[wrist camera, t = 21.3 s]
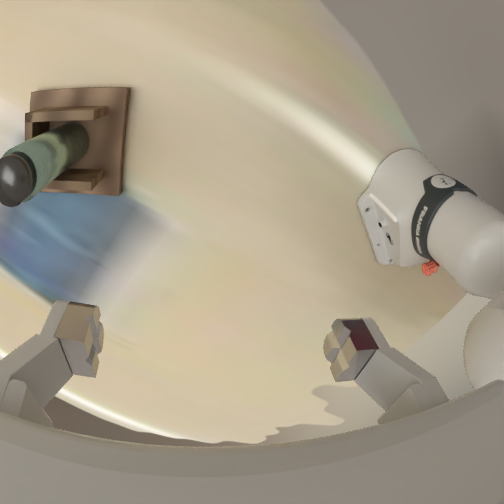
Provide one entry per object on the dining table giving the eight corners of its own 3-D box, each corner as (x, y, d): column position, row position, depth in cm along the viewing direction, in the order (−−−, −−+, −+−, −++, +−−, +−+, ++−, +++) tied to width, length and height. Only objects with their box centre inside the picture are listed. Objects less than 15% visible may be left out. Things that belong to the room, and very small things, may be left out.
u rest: (130, 87, 31) (116, 89, 26) (121, 192, 39) (109, 210, 34) (36, 91, 28) (12, 96, 23) (36, 187, 36) (15, 205, 30)
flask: (96, 135, 33) (38, 173, 19) (76, 168, 34) (19, 221, 21) (66, 114, 30) (-2, 142, 17) (48, 148, 32) (-18, 191, 19)
